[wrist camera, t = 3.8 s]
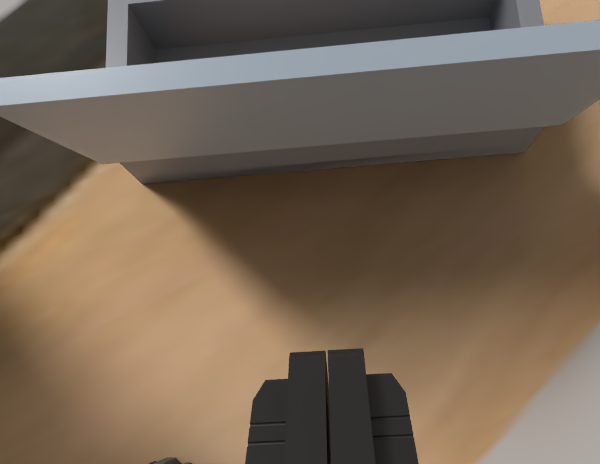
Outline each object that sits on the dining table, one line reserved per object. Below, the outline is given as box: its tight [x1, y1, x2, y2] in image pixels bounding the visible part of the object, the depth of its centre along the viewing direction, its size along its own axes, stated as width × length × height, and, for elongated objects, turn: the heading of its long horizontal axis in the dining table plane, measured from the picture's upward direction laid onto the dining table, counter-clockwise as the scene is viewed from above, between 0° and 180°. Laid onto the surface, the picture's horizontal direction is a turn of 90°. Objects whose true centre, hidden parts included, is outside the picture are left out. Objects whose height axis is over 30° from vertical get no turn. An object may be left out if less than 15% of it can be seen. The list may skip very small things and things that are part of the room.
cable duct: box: [106, 0, 545, 184], centre depth 34 cm, size 10×24×6 cm, turn 93°
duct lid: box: [0, 20, 600, 164], centre depth 25 cm, size 10×24×1 cm
